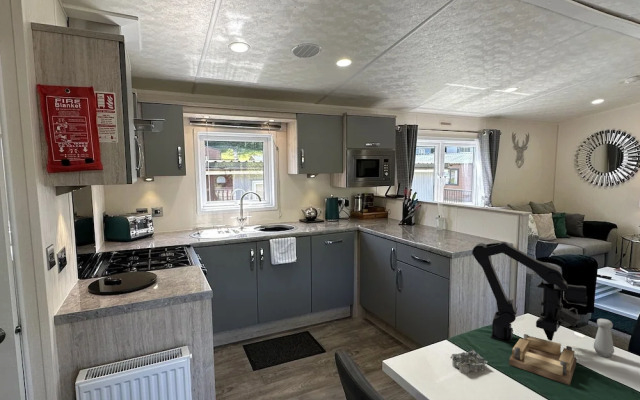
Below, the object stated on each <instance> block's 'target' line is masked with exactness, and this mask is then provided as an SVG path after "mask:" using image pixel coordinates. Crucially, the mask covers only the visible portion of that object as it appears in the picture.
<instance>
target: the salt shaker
mask: <svg viewBox="0 0 640 400" xmlns="http://www.w3.org/2000/svg"><path fill="white" fill-rule="evenodd" d="M596 325H597V326H598V327H597V328H598V329H597V332H596V335H595V337H594V338H595V339H594V342H593V350H594V351H595V352H596V354H597V355H598V356H600V357H602V358H611V356H612V355H613V354H614V353H615V346H614V342H613V335H612V330H611V329H613V326H614V325H613V322H612V321H611V320H609V319H606V318H598V319H597V320H596Z"/></svg>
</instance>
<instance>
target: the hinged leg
mask: <svg viewBox="0 0 640 400" xmlns="http://www.w3.org/2000/svg"><path fill="white" fill-rule="evenodd" d="M523 339H524V340H527V341H529V347H531V348H534V349H538V350H542V351H546V352H549V353H553V354H557V355H560V353H562V351H561V348H562V347H561V346H562V343H561V342H560V343H558V342H555V341H553V340H552V341H550V340H548V339H547V340H546V339H543V338H540V337H535V336H531V335H530V334H526V333H524V334H523Z"/></svg>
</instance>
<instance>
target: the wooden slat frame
mask: <svg viewBox="0 0 640 400" xmlns="http://www.w3.org/2000/svg"><path fill="white" fill-rule="evenodd" d="M565 347H566V348H565ZM565 347H563V349H562V351H561V352H560V355H557V354H553V353H549V352H546V351H542V350H538V349H534V348H531V347H529V341H527V340H524V338H519V339H518V341H517V342H516V343H515V344H514V346H513V347H512V350H511V351H512V354H511V355H510V357H509V359H508V365H509V366H512V367H515V368H518V369H521V370H523V371H526V372H528V373H529V372H530V373H533V374H535V375H539V376H541V377H544V378H547V379H550V380H552V381H553V380H554V381H556V382H559V383H562V384H564V385H566V386H567V385H568V386H571V382H572V378H573V375H574V372H575V370H576V366H577V361H578V359H577V357H578V356H577V357H576V356H575V350H573V347H572V346H570V345H566V346H565Z"/></svg>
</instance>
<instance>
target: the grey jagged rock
mask: <svg viewBox="0 0 640 400" xmlns="http://www.w3.org/2000/svg"><path fill="white" fill-rule="evenodd" d="M449 358H450V359H452V361H451V362H452V363H451V364H452V367H453V368H458V370H459V372H460V374H461V373H462V374H470V372H474V373H476V372H477V371H478V370H482V371H484V370H486V365H487V363H488V360H485V357H482V355H480V354H479V353H477V352H476V351H475V350H474V349H472V350H470V351H463V352H461V353H452V354H451V356H450V357H449ZM462 362H463V363H462Z"/></svg>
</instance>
